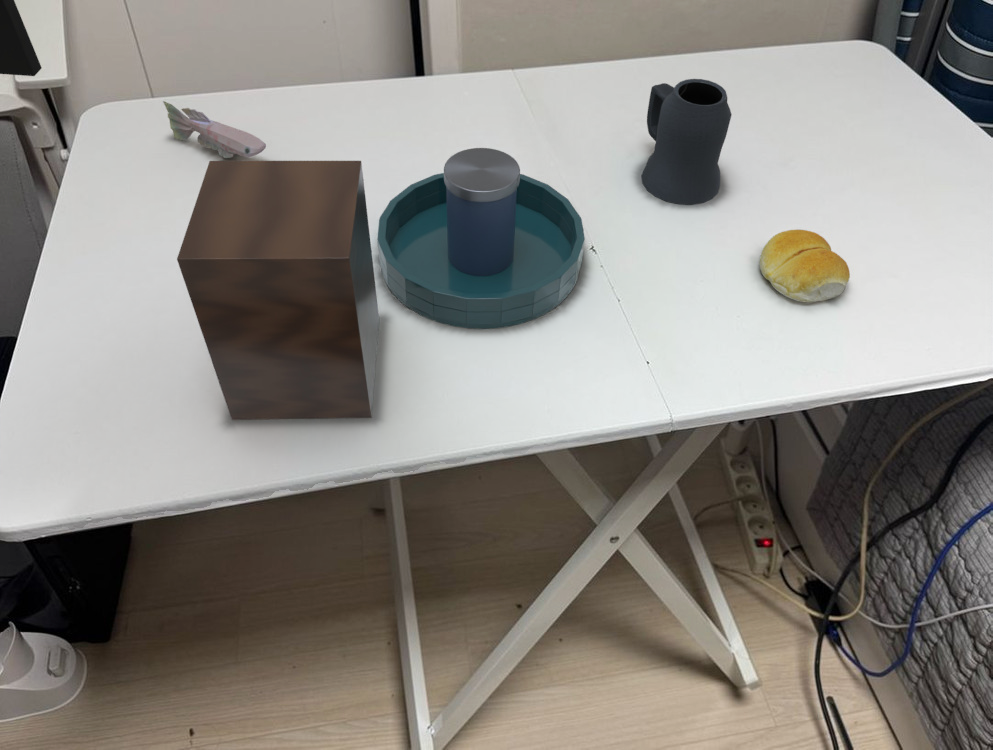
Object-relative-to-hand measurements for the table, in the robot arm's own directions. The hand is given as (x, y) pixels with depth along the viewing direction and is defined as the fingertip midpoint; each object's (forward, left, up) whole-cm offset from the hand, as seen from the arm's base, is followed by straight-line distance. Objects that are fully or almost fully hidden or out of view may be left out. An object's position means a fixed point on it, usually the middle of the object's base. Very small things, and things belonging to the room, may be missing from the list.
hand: (72, 5), depth 43 cm
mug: (+45, +38, -37) cm, 69 cm away
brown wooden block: (+6, +8, -37) cm, 38 cm away
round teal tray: (+22, +23, -37) cm, 49 cm away
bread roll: (+55, +20, -37) cm, 69 cm away
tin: (+22, +23, -36) cm, 48 cm away
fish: (-8, +42, -37) cm, 57 cm away
